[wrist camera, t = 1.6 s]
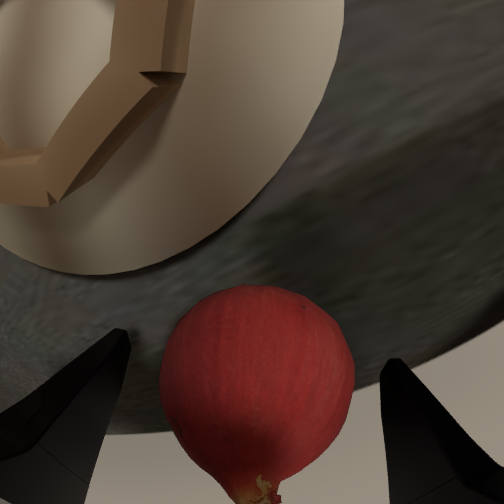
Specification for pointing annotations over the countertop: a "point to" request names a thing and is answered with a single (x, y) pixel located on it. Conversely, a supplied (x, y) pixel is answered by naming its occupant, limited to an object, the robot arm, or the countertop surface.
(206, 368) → the onion
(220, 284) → the countertop surface
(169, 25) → the flange plate
